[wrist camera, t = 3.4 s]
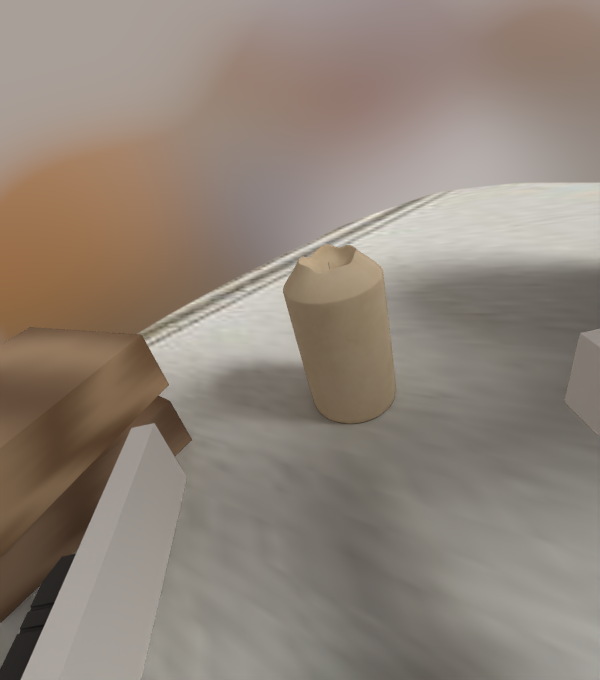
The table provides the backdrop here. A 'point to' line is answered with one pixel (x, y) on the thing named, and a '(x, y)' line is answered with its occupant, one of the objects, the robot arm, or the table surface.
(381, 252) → the table surface
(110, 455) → the tower base
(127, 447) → the robot arm
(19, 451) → the tower top
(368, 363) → the candle
